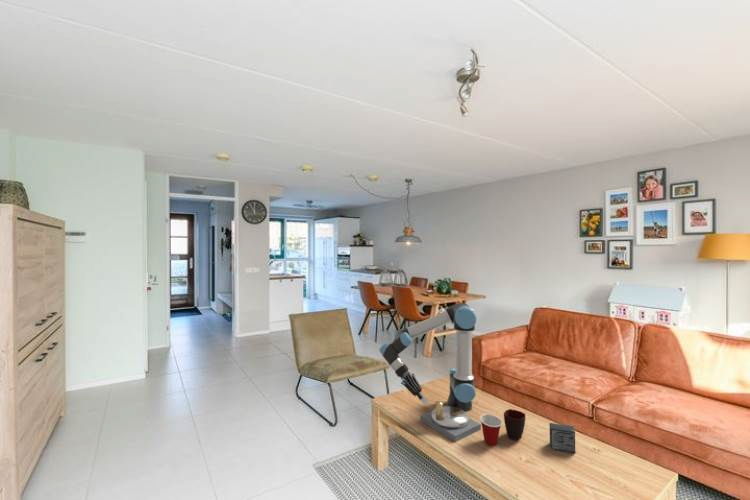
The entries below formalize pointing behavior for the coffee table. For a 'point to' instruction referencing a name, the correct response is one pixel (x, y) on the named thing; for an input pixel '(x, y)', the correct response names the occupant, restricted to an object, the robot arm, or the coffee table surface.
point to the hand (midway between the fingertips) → (426, 403)
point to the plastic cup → (490, 428)
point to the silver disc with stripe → (449, 416)
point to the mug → (514, 423)
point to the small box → (562, 437)
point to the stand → (452, 433)
